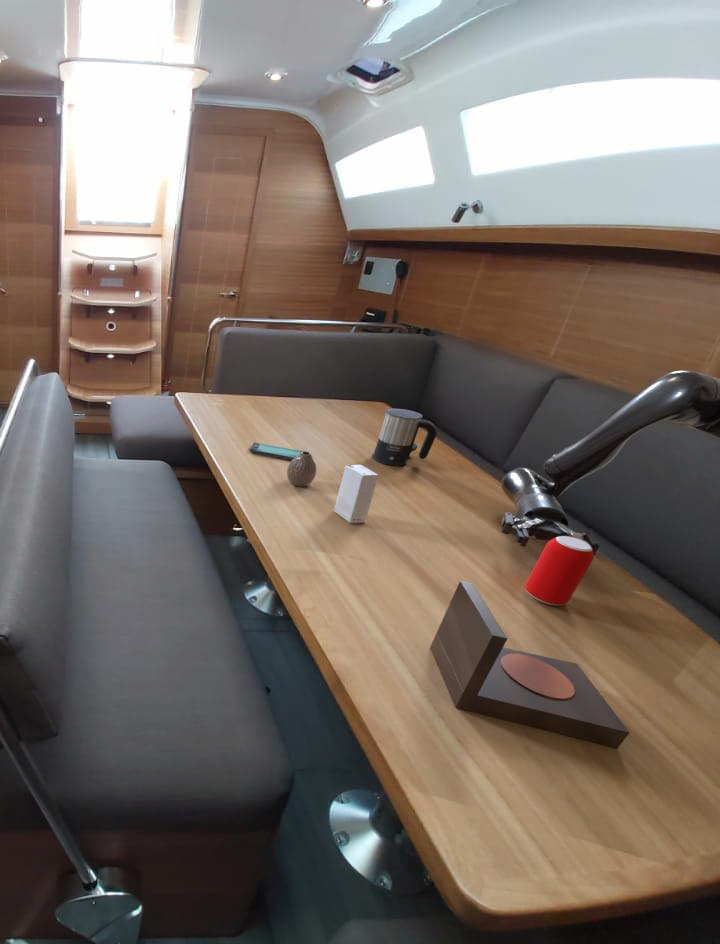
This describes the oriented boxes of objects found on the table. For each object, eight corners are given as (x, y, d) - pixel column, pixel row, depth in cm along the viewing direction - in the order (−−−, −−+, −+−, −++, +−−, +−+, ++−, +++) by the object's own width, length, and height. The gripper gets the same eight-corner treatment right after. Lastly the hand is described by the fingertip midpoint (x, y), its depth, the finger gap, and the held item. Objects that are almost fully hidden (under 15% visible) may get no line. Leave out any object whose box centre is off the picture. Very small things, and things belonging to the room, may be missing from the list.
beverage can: (571, 602, 90) (604, 546, 85) (557, 613, 87) (590, 556, 82) (531, 583, 95) (559, 530, 89) (516, 593, 92) (544, 538, 87)
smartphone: (253, 441, 156) (304, 450, 150) (253, 445, 156) (304, 454, 150) (249, 449, 150) (303, 458, 144) (249, 453, 150) (302, 462, 144)
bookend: (567, 678, 74) (611, 609, 68) (617, 748, 63) (674, 674, 58) (429, 647, 78) (459, 580, 73) (455, 707, 68) (492, 635, 62)
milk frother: (377, 464, 145) (392, 416, 139) (359, 445, 160) (373, 400, 153) (429, 469, 143) (448, 420, 137) (407, 449, 157) (423, 404, 151)
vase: (285, 486, 130) (292, 455, 126) (284, 476, 136) (291, 446, 132) (313, 491, 128) (322, 459, 124) (311, 480, 134) (319, 450, 130)
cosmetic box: (365, 522, 114) (381, 475, 109) (348, 524, 113) (363, 476, 108) (348, 509, 119) (362, 463, 114) (331, 510, 118) (345, 464, 113)
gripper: (505, 490, 108) (514, 520, 95) (593, 509, 101) (614, 545, 88) (491, 520, 111) (498, 553, 98) (575, 541, 104) (594, 579, 92)
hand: (553, 549), depth 93 cm, fingers open, 8 cm apart
